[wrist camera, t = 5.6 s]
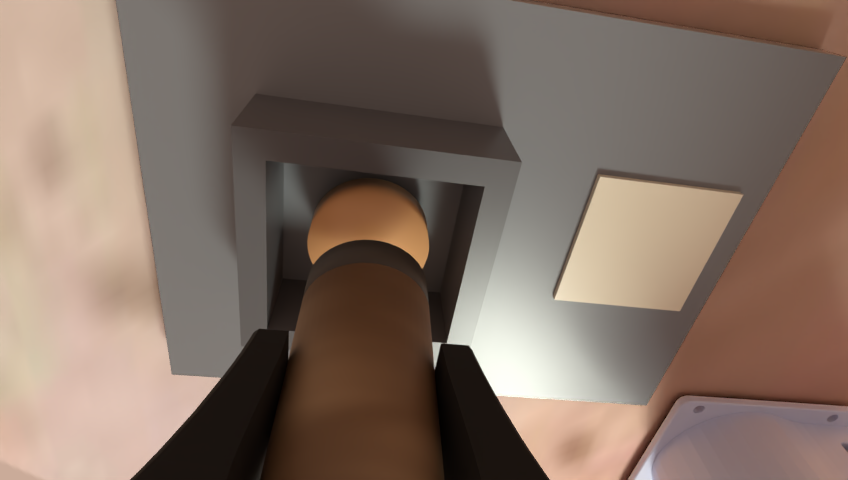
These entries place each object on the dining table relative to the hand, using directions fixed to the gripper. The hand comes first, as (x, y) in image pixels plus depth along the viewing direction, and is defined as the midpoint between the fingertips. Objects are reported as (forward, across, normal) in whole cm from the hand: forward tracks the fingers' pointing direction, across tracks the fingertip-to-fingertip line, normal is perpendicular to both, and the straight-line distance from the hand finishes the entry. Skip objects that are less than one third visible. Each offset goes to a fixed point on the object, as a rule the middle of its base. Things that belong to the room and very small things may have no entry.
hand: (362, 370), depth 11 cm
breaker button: (+6, 0, 0) cm, 6 cm away
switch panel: (+8, -3, 0) cm, 8 cm away
